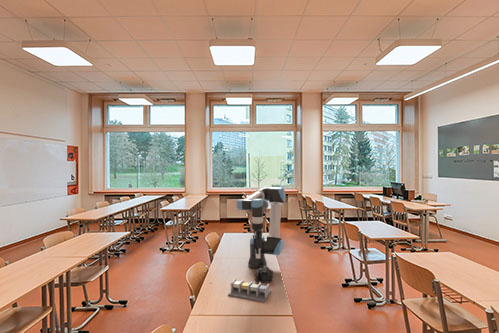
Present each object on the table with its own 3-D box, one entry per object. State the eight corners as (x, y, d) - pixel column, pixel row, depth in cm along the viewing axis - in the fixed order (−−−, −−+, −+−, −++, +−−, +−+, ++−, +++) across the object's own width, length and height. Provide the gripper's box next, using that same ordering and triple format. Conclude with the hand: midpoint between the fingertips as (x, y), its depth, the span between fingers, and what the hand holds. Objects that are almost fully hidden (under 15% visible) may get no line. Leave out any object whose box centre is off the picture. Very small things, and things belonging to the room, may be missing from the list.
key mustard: (243, 285, 168) (243, 282, 168) (249, 286, 166) (249, 283, 166) (241, 288, 164) (241, 285, 164) (247, 289, 163) (247, 286, 162)
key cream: (235, 284, 170) (235, 280, 170) (241, 285, 168) (241, 281, 168) (233, 286, 166) (233, 283, 166) (238, 287, 165) (238, 284, 165)
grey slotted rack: (237, 285, 175) (237, 276, 175) (271, 291, 166) (271, 281, 166) (228, 295, 162) (228, 285, 162) (264, 302, 153) (264, 291, 153)
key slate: (261, 288, 163) (261, 285, 163) (267, 289, 162) (267, 286, 162) (259, 291, 160) (259, 288, 160) (265, 292, 158) (265, 289, 158)
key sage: (252, 287, 165) (252, 283, 165) (258, 288, 164) (258, 284, 164) (250, 289, 162) (250, 286, 162) (256, 291, 160) (256, 287, 160)
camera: (256, 285, 175) (256, 270, 175) (253, 278, 185) (253, 264, 185) (275, 282, 178) (275, 268, 178) (271, 276, 188) (271, 263, 188)
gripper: (255, 220, 177) (256, 254, 178) (248, 224, 165) (249, 260, 165) (265, 220, 175) (266, 255, 175) (259, 225, 162) (260, 262, 163)
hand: (258, 257), depth 170 cm, fingers closed
